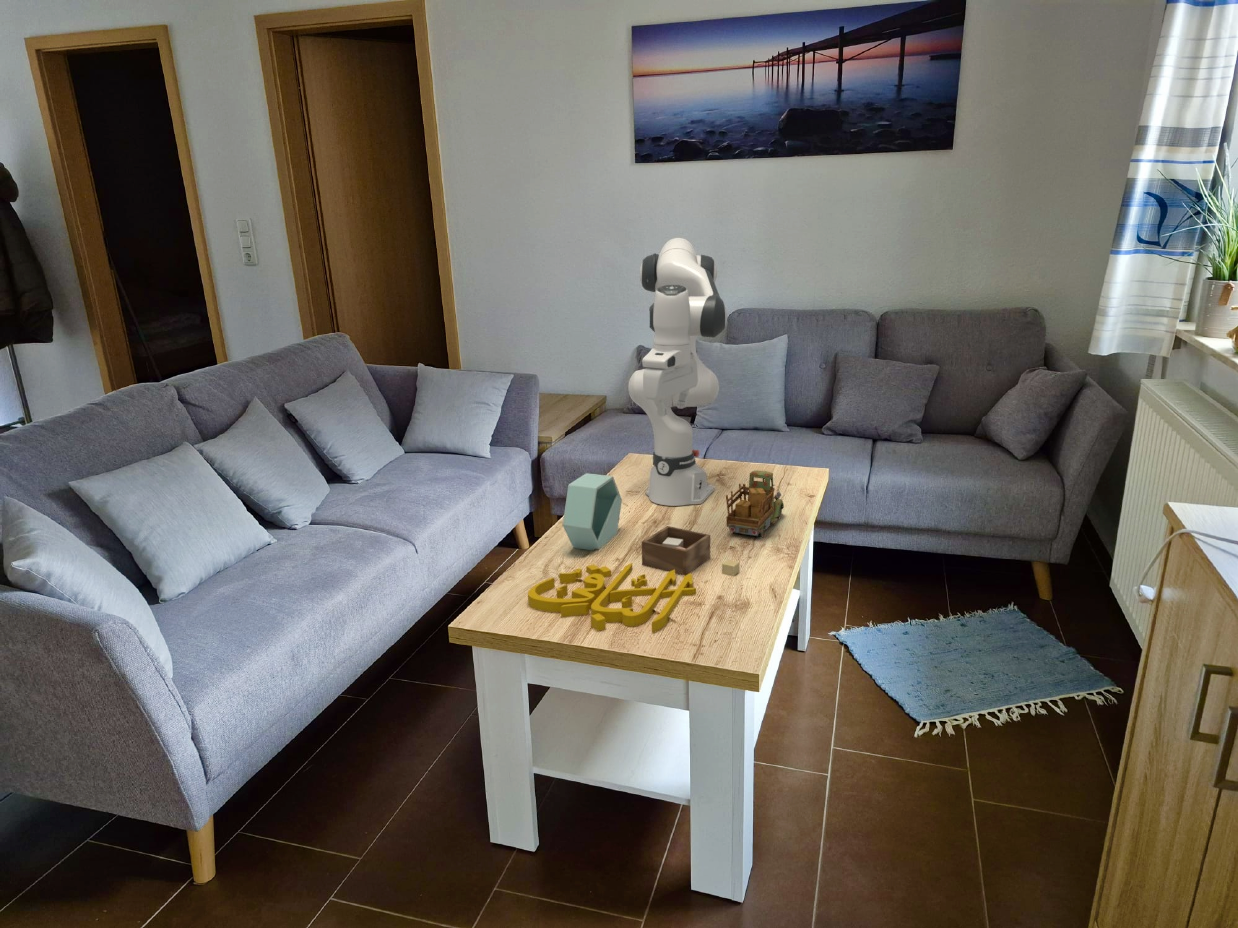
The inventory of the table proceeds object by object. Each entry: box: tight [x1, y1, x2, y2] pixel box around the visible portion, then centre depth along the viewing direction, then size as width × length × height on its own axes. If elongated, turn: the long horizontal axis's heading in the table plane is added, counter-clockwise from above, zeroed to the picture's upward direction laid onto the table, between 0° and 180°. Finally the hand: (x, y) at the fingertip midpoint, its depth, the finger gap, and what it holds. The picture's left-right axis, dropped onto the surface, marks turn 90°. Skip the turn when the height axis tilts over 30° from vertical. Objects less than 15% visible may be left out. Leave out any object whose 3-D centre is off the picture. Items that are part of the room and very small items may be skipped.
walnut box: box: [641, 525, 711, 577], centre depth 204 cm, size 12×12×7 cm
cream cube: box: [662, 537, 683, 548], centre depth 207 cm, size 4×4×4 cm
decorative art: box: [527, 562, 697, 633], centre depth 188 cm, size 34×3×30 cm
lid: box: [721, 559, 740, 577], centre depth 198 cm, size 13×13×4 cm
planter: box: [562, 472, 623, 551], centre depth 217 cm, size 17×8×21 cm
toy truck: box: [725, 470, 785, 539], centre depth 226 cm, size 11×25×15 cm, turn 154°
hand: (671, 411), depth 206 cm, fingers open, 8 cm apart
